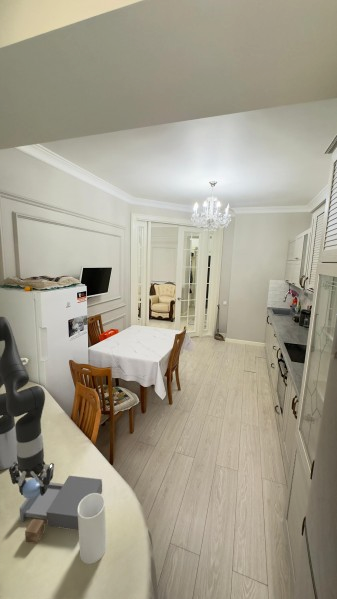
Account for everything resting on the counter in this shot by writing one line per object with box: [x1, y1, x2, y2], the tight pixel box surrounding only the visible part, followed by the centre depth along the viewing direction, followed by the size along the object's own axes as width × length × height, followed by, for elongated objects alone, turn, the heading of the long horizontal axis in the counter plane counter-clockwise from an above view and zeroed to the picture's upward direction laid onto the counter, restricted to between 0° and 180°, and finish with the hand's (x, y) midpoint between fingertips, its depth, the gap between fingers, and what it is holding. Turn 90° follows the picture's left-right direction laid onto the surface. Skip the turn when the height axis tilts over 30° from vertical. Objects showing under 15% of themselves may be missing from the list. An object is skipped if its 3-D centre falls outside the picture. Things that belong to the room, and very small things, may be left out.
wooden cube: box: [24, 518, 45, 544], centre depth 81 cm, size 4×4×4 cm
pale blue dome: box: [22, 478, 43, 499], centre depth 81 cm, size 6×6×2 cm
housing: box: [46, 475, 103, 531], centre depth 91 cm, size 14×15×6 cm
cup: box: [78, 493, 107, 565], centre depth 77 cm, size 8×8×16 cm
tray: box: [19, 473, 64, 522], centre depth 92 cm, size 14×15×5 cm
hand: (33, 492), depth 81 cm, fingers closed on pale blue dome, 6 cm apart
